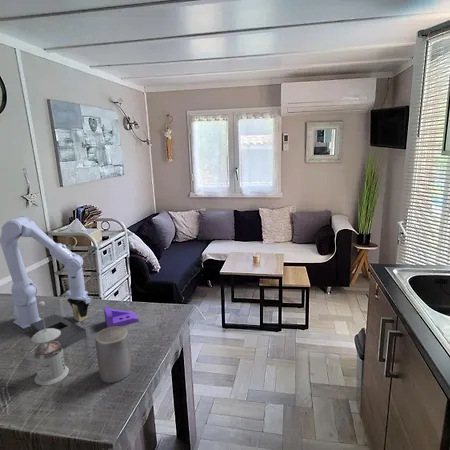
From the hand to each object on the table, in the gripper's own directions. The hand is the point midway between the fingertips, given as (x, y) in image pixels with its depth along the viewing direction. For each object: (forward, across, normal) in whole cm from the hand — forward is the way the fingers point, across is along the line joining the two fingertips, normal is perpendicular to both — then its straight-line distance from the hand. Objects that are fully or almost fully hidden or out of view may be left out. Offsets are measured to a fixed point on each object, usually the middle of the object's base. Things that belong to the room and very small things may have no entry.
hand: (80, 314), depth 141 cm
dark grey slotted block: (+2, -4, +12) cm, 13 cm away
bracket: (+2, -17, -8) cm, 19 cm away
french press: (+2, -25, +26) cm, 36 cm away
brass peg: (+2, 0, 0) cm, 2 cm away
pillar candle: (+2, -42, +14) cm, 44 cm away
